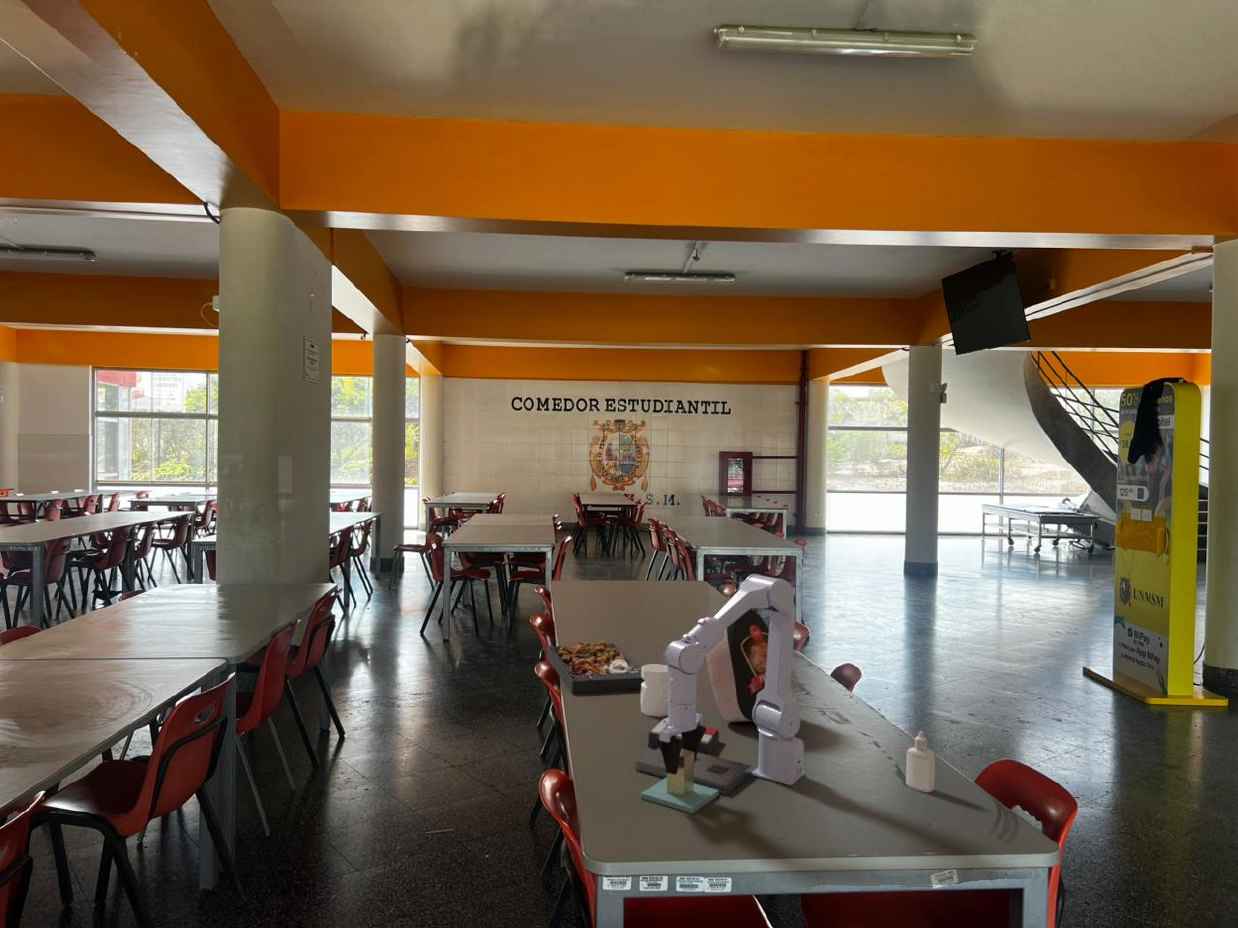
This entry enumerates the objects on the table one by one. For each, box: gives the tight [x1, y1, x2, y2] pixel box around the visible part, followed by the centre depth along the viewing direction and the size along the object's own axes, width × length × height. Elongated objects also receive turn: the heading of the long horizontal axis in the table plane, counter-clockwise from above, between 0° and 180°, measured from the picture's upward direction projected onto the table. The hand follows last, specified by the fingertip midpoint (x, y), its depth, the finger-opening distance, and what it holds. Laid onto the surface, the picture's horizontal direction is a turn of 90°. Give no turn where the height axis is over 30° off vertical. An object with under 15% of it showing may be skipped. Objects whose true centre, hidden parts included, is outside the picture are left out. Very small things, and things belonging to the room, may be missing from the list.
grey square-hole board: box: [635, 748, 753, 795], centre depth 174 cm, size 22×13×2 cm, turn 56°
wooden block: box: [667, 749, 694, 797], centre depth 161 cm, size 4×4×8 cm
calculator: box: [647, 718, 720, 756], centre depth 192 cm, size 11×4×15 cm
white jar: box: [640, 663, 669, 717], centre depth 216 cm, size 9×9×12 cm
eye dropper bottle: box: [905, 730, 936, 793], centre depth 168 cm, size 4×6×12 cm
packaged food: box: [706, 608, 769, 723], centre depth 213 cm, size 22×20×30 cm
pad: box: [640, 777, 720, 815], centre depth 161 cm, size 12×11×1 cm
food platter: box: [546, 640, 645, 695], centre depth 256 cm, size 45×25×10 cm, turn 15°
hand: (680, 767), depth 161 cm, fingers open, 7 cm apart
